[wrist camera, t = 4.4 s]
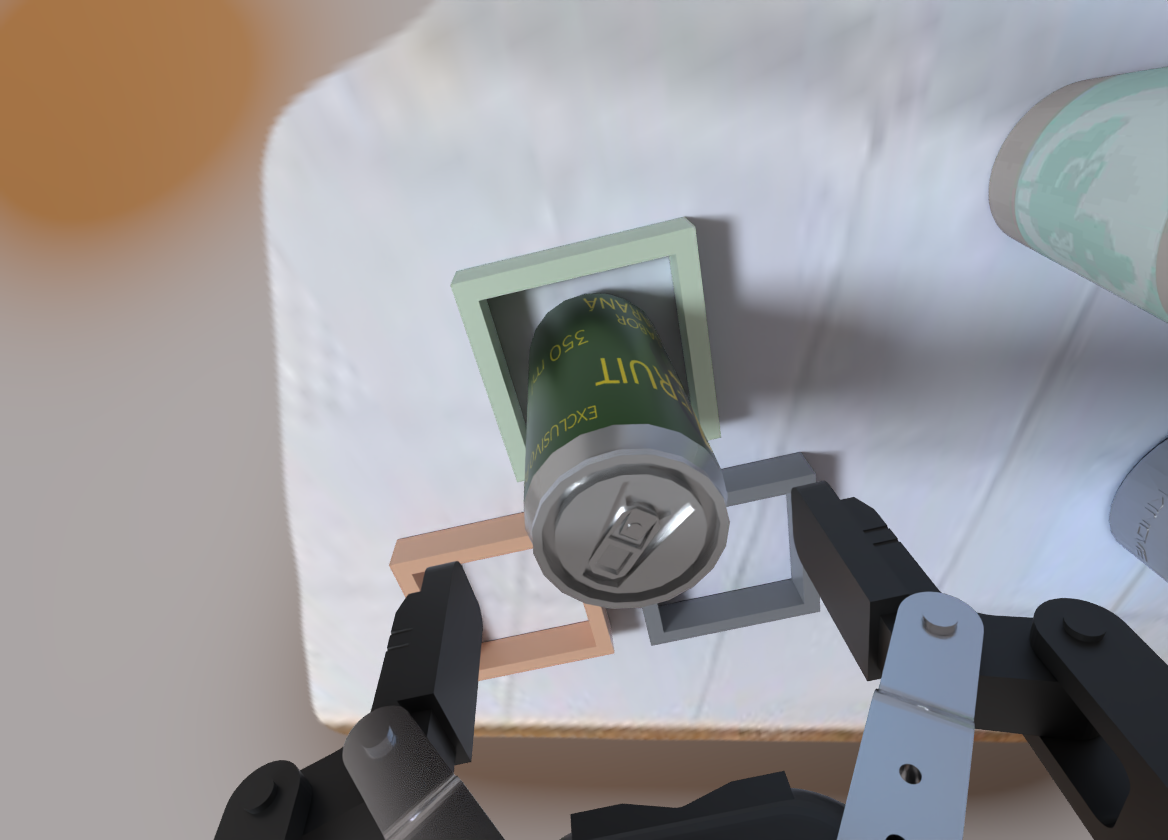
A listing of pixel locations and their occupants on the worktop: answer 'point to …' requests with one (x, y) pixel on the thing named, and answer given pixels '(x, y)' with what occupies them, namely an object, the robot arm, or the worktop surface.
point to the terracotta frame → (492, 542)
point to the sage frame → (576, 262)
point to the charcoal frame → (753, 601)
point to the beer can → (616, 461)
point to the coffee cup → (1093, 184)
